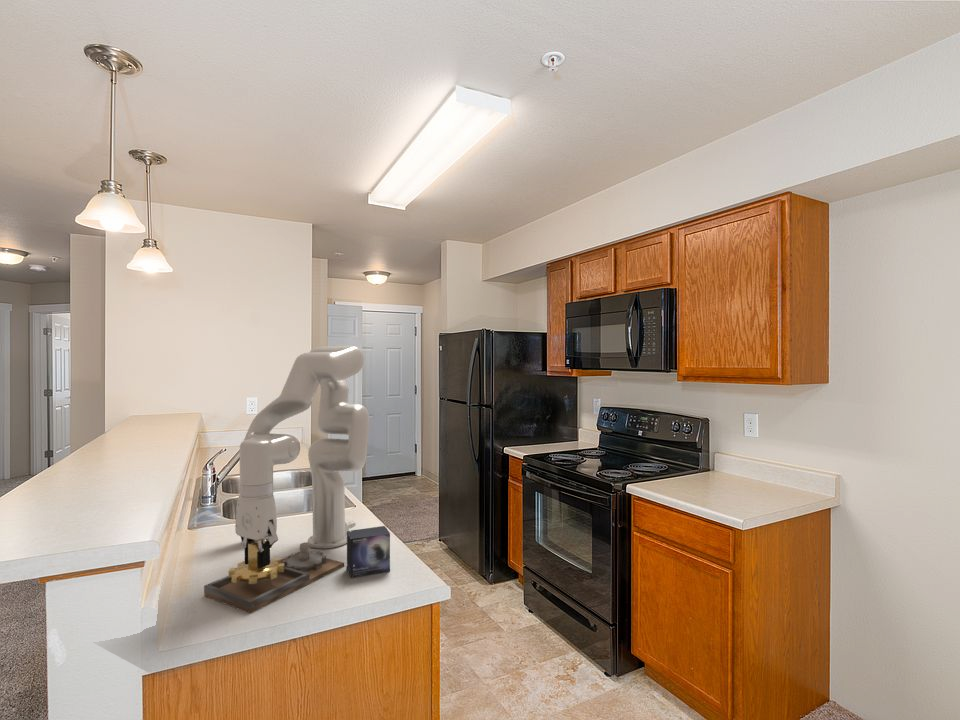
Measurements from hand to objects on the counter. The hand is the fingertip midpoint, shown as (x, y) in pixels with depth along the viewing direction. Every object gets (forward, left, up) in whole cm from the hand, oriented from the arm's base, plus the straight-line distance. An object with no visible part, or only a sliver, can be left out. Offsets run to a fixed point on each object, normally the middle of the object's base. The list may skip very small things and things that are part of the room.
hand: (257, 563), depth 127 cm
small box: (-22, +16, -7) cm, 28 cm away
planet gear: (0, 0, -2) cm, 2 cm away
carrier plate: (-6, 0, -6) cm, 9 cm away
